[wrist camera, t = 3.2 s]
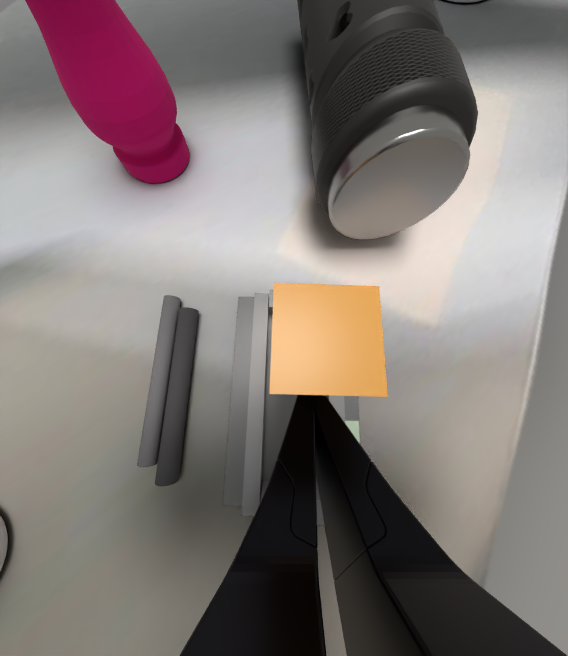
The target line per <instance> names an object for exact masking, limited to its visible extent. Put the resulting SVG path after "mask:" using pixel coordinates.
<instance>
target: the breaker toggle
mask: <svg viewBox="0 0 568 656" xmlns="http://www.w3.org/2000/svg"><path fill="white" fill-rule="evenodd" d="M269 392H270V394H294V395H337V396H379V397H388V395H387V382H386V369H385V357H384V344H383V331H382V318H381V305H380V293H379V287H377V286H351V285H324V284H298V283H274V291H273V317H272V330H271V355H270V381H269Z"/></svg>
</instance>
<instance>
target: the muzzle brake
mask: <svg viewBox="0 0 568 656" xmlns="http://www.w3.org/2000/svg"><path fill="white" fill-rule="evenodd" d="M297 1H298V9H299V18H300V27H301V35H302V44H303V52H304V61H305V70H306V78H307V87H308V96H309V104H310V113H311V121H312V130H313V133H312V143H311V154H312V163H313V172H314V181H315V190H316V196H317V199H318V201H319V204H320V206H321V207H322V209H323V210H324V211H325V212H326V213H327V214H328V215H329V218H330V221H331V223H332V225H333V227H334V228H335V229H336V230H337V231H338V232H339V233H340V234H342V235H344V236H346V237H349V238H353V239H362V240H366V239H375V238H380V237H384V236H388V235H391V234H394V233H397V232H399V231H402V230H404V229H406V228H408V227H410V226H412V225H414V224H416V223H418V222H419V221H421V220H423V219H424V218H426V217H427V216H429V215H430V214H431V213H433V212H434V211H435V210H437V209H438V208H439V207H440V206H441V205H442V204H444V203H445V202H446V201H447V200H448V199H449V198H450V196H451V195H452V194H453V193H454V192H455V191H456V189H457V188H458V186H459V185H460V183H461V182H462V180H463V179H464V176H465V174H466V171H467V169H468V166H469V159H470V151H469V147H470V144H471V142H472V139H473V136H474V134H475V130H476V123H477V116H478V111H477V105H476V99H475V96H474V93H473V90H472V87H471V85H470V82H469V79H468V76H467V73H466V70H465V67H464V64H463V61H462V59H461V56H460V53H459V52H458V50H457V48H456V47H455V45H454V43H453V42H452V41H451V40H450V39H449V38H447V37H446V36H444V32H443V28H442V25H441V22H440V19H439V16H438V13H437V10H436V7H435V4H434V1H433V0H297Z"/></svg>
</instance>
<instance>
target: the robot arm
mask: <svg viewBox="0 0 568 656" xmlns="http://www.w3.org/2000/svg"><path fill="white" fill-rule="evenodd" d="M316 478H317V484H318V490H319V496H320V502H321V507H322V513H323V519H324V525H325V531H326V536H327V542H328V548H329V554H330V560H331V566H332V571H333V577H334V580H335V581H334V584H335V589H336V595H337V601H338V607H339V613H340V618H341V624H342V630H343V636H344V642H345V648H346V653H347V656H567V655H566V654H565V653H563V652H562V651H561V650H559V649H558V648H557V647H556V646H555V645H553V644H552V643H551V642H550V641H548V640H547V639H546V638H544V637H543V636H542V635H541V634H539V633H538V632H537V631H536V630H534V629H533V628H532V627H531V626H529V625H528V624H527V623H526V622H524V621H523V620H522V619H521V618H519V617H518V616H517V615H516V614H514V613H513V612H512V611H511V610H509V609H508V608H507V607H506V606H504V605H503V604H502V603H501V602H499V601H498V600H497V599H496V598H494V597H493V596H492V595H491V594H489V593H488V592H487V591H486V590H484V589H483V588H482V587H481V586H479V585H478V584H477V583H476V582H474V581H473V580H472V579H471V578H470V577H469V576H468V575H466V574H465V573H464V572H463V571H462V570H461V569H460V568H459V567H458V566H457V565H456V564H455V563H454V562H453V561H452V560H451V559H450V558H449V557H448V555H447V554H446V553H445V552H444V551H443V550H442V548H441V547H440V546H439V545H438V544H437V542H436V541H435V540H434V539H433V538H432V536H431V535H430V534H429V533H428V532H427V530H426V529H425V528H424V527H423V526H422V524H421V523H420V522H419V521H418V520H417V518H416V517H415V516H414V515H413V514H412V513H411V511H410V510H409V509H408V508H407V507H406V505H405V504H404V503H403V502H402V500H401V499H400V498H399V497H398V495H397V494H396V493H395V492H394V490H393V489H392V488H391V487H390V485H389V484H388V483H387V481H386V480H385V479H384V477H383V476H382V475H381V473H380V472H379V470H378V469H377V467H376V466H375V465H374V463H373V462H371V459H370V458H369V456H368V455H367V453H366V452H365V451H364V449H363V448H362V446H361V445H360V443H359V442H358V441H357V439H356V438H355V436H354V435H353V434H352V432H351V431H350V429H349V428H348V426H347V425H346V424H345V422H344V421H343V419H342V418H341V417H340V415H339V414H338V412H337V411H336V409H335V408H334V407H333V405H332V404H331V402H330V401H329V400H328V398H327V397H326V395H297V398H296V401H295V404H294V407H293V410H292V413H291V417H290V420H289V423H288V426H287V429H286V432H285V435H284V438H283V441H282V444H281V447H280V451H279V454H278V457H277V460H276V463H275V466H274V469H273V472H272V475H271V477H270V480H269V483H268V486H267V488H266V491H265V493H264V495H263V498H262V500H261V502H260V505H259V507H258V509H257V511H256V513H255V515H254V518H253V520H252V522H251V524H250V526H249V528H248V531H247V533H246V535H245V537H244V539H243V542H242V544H241V546H240V548H239V550H238V552H237V554H236V556H235V559H234V561H233V563H232V565H231V567H230V568H229V570H228V572H227V574H226V576H225V578H224V580H223V582H222V583H221V585H220V587H219V589H218V590H217V592H216V594H215V596H214V597H213V599H212V601H211V602H210V604H209V606H208V608H207V609H206V611H205V613H204V614H203V616H202V618H201V620H200V621H199V623H198V625H197V626H196V628H195V630H194V632H193V633H192V635H191V637H190V639H189V640H188V642H187V644H186V645H185V647H184V649H183V651H182V652H181V654H180V656H326V648H325V638H324V628H323V618H322V608H321V598H320V589H319V576H318V552H317V500H316Z"/></svg>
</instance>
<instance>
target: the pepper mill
mask: <svg viewBox="0 0 568 656" xmlns="http://www.w3.org/2000/svg"><path fill="white" fill-rule="evenodd" d="M25 1H26V3H27V5H28V7H29V8H30V10H31V12H32V14H33V16H34V18H35V20H36V22H37V24H38V26H39V28H40V30H41V33H42V35H43V38H44V40H45V43H46V45H47V47H48V50H49V53H50V56H51V58H52V61H53V64H54V66H55V69H56V71H57V74H58V76H59V79H60V82H61V84H62V86H63V88H64V90H65V92H66V94H67V96H68V98H69V100H70V102H71V104H72V106H73V107H74V109H75V110H76V111H77V113H78V114H79V116H80V117H81V119H82V120H83V122H84V123H85V124H86V126H87V127H88V128H89V129H90V130H91V131H92V132H93V133H94V134H95V135H96V136H97V137H98V138H100V139H101V140H103V141H104V142H106V143H108V144H110V145H112V146H113V150H114V152H115V154H116V156H117V157H118V158H119V160H120V161H121V163H122V164H123V165H124V167H125V168H126V169H127V171H128V172H129V173H130V174H131V175H132V176H133V177H135V178H136V179H138V180H141V181H144V182H148V183H162V182H167V181H169V180H172V179H174V178H175V177H177V176H178V175H179V174H181V173H182V172H183V171H184V169H185V168H186V166H187V164H188V161H189V149H188V146H187V144H186V141H185V139H184V136H183V134H182V131H181V129H180V127H179V126H178V125H177V124H176V123H175V122H176V115H177V107H176V101H175V97H174V94H173V92H172V89H171V87H170V85H169V83H168V80H167V78H166V76H165V74H164V72H163V70H162V69H161V67H160V65H159V64H158V62H157V60H156V59H155V57H154V55H153V54H152V52H151V50H150V49H149V48H148V46H147V45H146V44H145V42H144V41H143V39H142V38H141V37H140V35H139V34H138V33H137V31H136V30H135V28H134V27H133V26H132V24H131V23H130V22H129V20H128V19H127V17H126V16H125V14H124V13H123V11H122V10H121V9H120V7H119V6H118V4H117V3H116V1H115V0H25Z"/></svg>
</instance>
